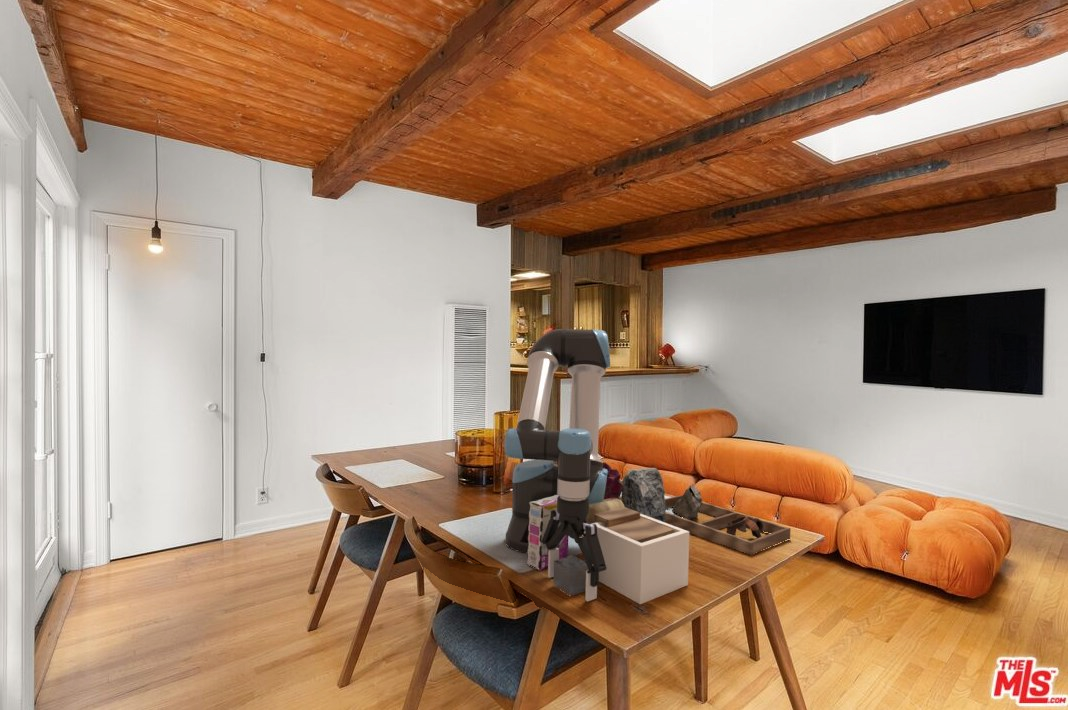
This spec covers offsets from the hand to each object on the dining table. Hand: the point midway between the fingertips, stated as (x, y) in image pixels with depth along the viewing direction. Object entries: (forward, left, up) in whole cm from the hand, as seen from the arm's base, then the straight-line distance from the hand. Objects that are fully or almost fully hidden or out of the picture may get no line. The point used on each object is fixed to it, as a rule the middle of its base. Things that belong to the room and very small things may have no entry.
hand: (571, 587), depth 117 cm
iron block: (0, 0, 0) cm, 0 cm away
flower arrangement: (-50, +50, 0) cm, 71 cm away
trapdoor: (+1, +16, +11) cm, 19 cm away
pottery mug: (+6, +63, -1) cm, 63 cm away
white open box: (+6, +16, 0) cm, 17 cm away
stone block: (-14, +41, 0) cm, 43 cm away
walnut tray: (-7, +64, 0) cm, 64 cm away
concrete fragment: (-18, +65, 0) cm, 68 cm away
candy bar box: (-14, +4, 0) cm, 15 cm away
